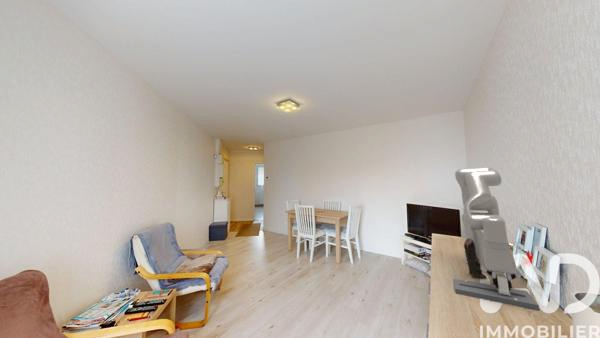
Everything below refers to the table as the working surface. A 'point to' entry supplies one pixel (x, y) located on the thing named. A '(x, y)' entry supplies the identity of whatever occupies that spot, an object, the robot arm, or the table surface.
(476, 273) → the statue
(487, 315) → the table surface
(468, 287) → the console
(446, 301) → the table surface
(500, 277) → the fader
